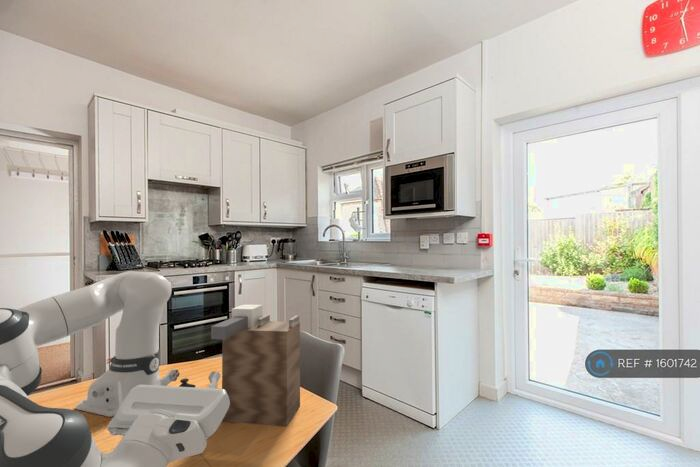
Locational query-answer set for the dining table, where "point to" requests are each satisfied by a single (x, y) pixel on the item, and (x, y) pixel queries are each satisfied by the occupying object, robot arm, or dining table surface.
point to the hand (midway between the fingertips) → (195, 372)
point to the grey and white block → (237, 321)
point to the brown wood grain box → (263, 373)
